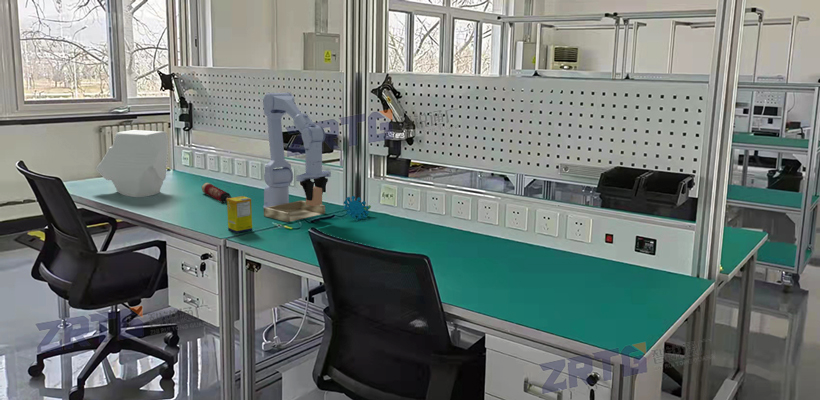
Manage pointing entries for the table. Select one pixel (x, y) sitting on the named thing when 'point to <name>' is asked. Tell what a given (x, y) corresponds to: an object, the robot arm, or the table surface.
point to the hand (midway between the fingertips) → (314, 199)
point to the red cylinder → (215, 192)
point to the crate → (293, 211)
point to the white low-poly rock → (136, 162)
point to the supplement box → (239, 214)
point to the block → (315, 197)
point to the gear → (356, 207)
